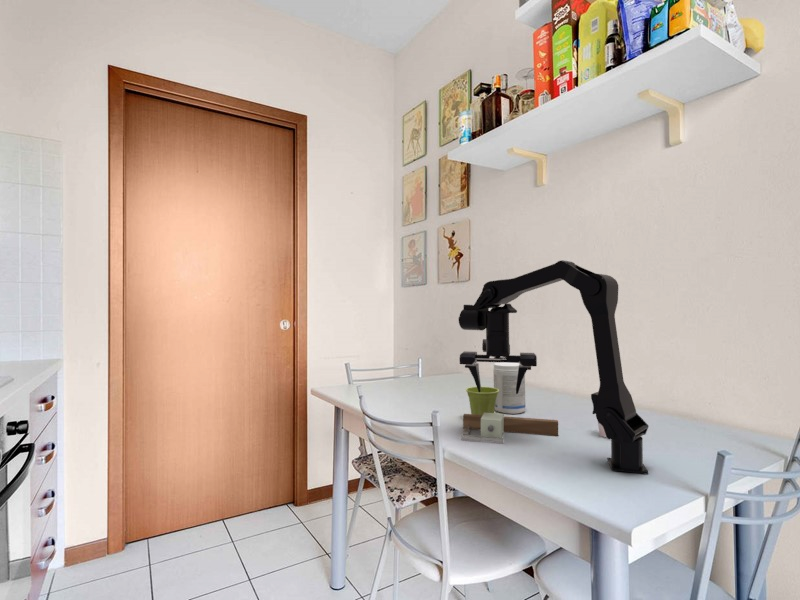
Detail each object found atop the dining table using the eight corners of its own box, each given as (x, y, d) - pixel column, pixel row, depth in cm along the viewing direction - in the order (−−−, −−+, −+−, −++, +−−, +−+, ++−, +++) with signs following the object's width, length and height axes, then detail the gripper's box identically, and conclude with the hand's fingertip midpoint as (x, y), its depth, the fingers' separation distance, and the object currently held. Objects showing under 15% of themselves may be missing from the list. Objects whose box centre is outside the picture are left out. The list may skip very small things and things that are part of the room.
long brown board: (558, 435, 111) (558, 422, 111) (463, 428, 118) (463, 415, 118) (557, 433, 113) (557, 420, 113) (464, 426, 120) (464, 413, 120)
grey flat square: (503, 443, 105) (503, 439, 105) (461, 439, 108) (461, 435, 108) (505, 432, 114) (505, 428, 114) (466, 429, 117) (466, 425, 117)
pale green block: (501, 442, 107) (501, 421, 107) (480, 440, 108) (480, 419, 108) (503, 433, 114) (503, 413, 114) (484, 431, 116) (484, 412, 116)
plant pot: (482, 425, 121) (482, 394, 121) (459, 418, 129) (459, 388, 129) (506, 420, 126) (506, 390, 126) (482, 414, 134) (482, 385, 134)
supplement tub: (531, 411, 138) (531, 363, 138) (514, 416, 131) (514, 366, 131) (504, 406, 145) (504, 361, 145) (487, 410, 138) (487, 363, 138)
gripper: (535, 329, 117) (536, 388, 117) (464, 329, 122) (465, 385, 122) (536, 332, 106) (537, 397, 106) (459, 331, 111) (459, 393, 111)
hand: (498, 392), depth 111 cm, fingers open, 9 cm apart
